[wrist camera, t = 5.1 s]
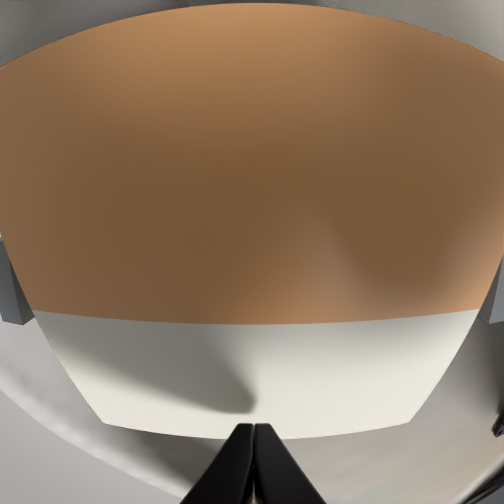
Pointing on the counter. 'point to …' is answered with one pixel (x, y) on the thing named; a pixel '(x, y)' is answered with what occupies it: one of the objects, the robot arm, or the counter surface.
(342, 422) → the two-tone square pad
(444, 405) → the counter surface
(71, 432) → the counter surface
